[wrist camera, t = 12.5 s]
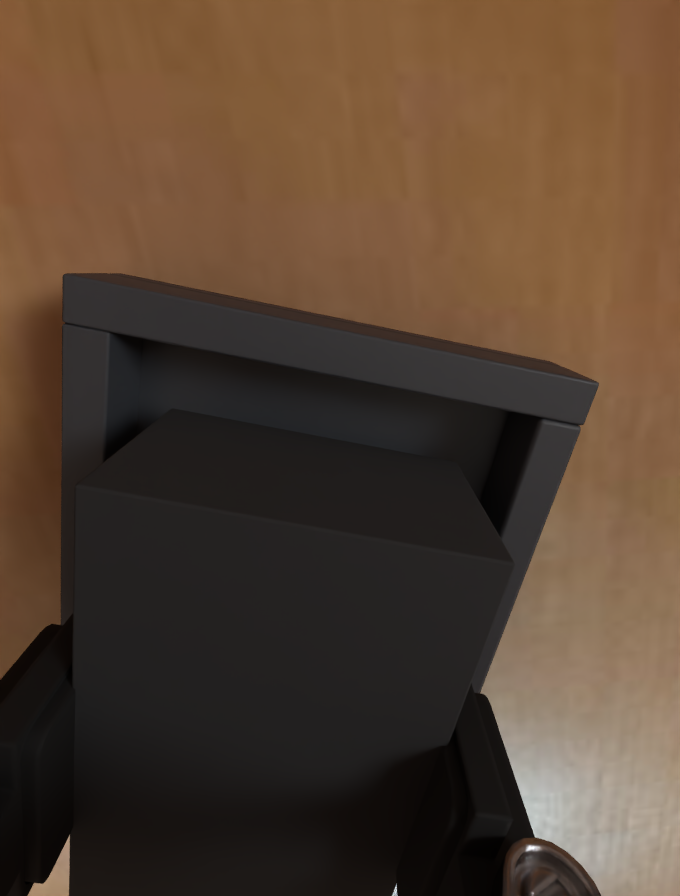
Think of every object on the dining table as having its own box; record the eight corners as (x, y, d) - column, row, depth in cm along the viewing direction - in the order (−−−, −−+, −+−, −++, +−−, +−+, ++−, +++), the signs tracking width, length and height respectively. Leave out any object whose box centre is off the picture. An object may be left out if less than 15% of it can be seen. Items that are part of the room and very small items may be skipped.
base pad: (118, 273, 10) (61, 272, 8) (552, 361, 10) (601, 382, 8) (98, 755, 14) (58, 833, 12) (400, 801, 15) (408, 882, 13)
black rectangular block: (171, 407, 9) (72, 484, 6) (457, 461, 9) (517, 563, 6) (141, 766, 12) (67, 947, 9) (355, 798, 13) (359, 984, 9)
